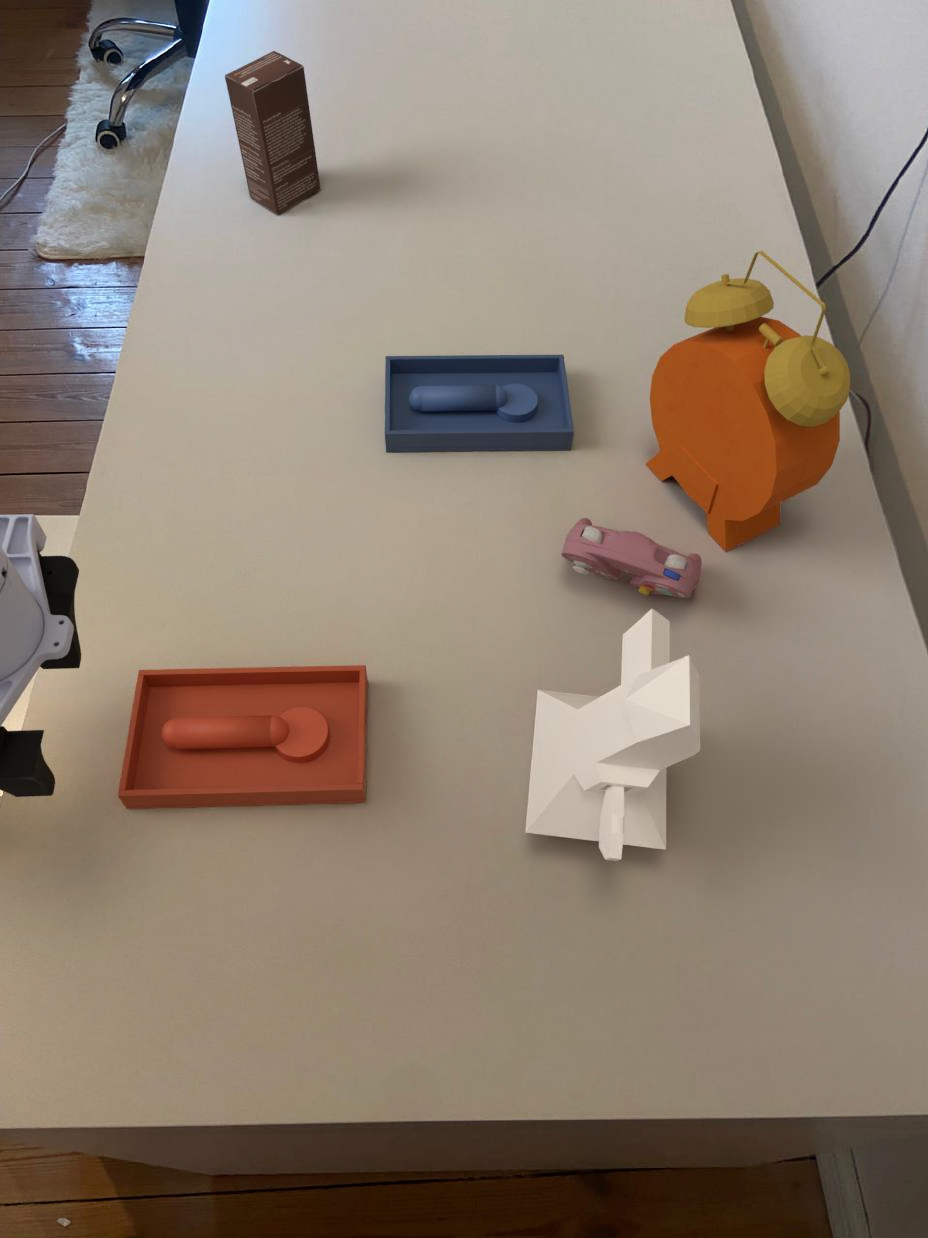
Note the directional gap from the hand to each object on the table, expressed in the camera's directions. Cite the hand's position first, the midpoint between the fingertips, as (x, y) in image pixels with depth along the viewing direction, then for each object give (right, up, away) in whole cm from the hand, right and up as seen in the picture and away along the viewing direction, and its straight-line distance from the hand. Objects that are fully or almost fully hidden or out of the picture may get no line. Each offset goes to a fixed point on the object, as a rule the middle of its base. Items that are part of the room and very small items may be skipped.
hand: (49, 724), depth 53 cm
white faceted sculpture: (+31, -5, +9) cm, 33 cm away
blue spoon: (+24, +23, +26) cm, 42 cm away
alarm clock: (+42, +15, +23) cm, 50 cm away
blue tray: (+24, +23, +27) cm, 42 cm away
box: (+5, +47, +42) cm, 64 cm away
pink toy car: (+35, +9, +18) cm, 40 cm away
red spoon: (+9, -2, +10) cm, 13 cm away
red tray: (+9, -2, +10) cm, 14 cm away
